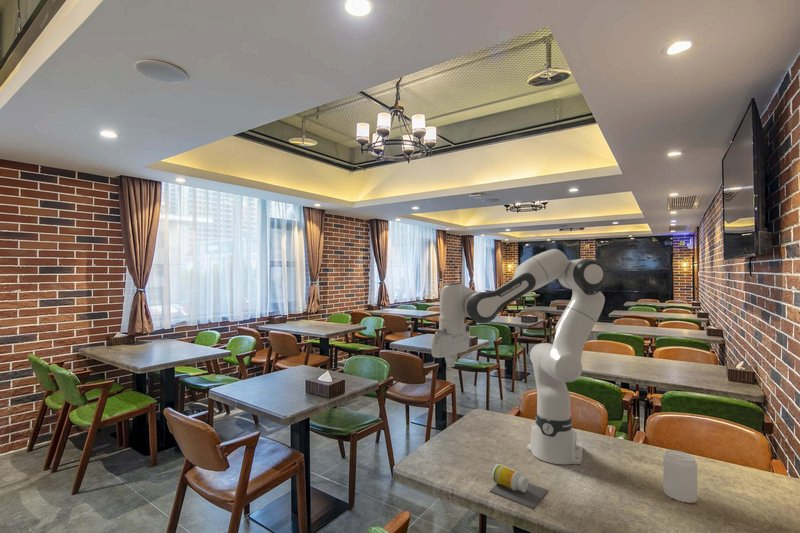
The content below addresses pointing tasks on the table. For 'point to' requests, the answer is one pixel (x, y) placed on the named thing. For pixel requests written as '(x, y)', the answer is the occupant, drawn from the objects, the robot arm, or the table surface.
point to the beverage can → (680, 476)
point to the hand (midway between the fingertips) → (450, 366)
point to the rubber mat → (521, 494)
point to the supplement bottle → (509, 478)
